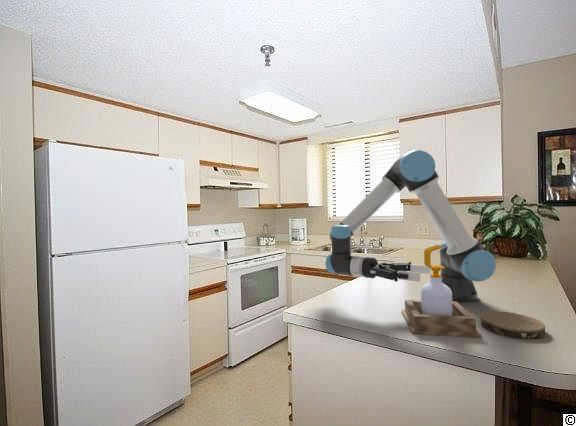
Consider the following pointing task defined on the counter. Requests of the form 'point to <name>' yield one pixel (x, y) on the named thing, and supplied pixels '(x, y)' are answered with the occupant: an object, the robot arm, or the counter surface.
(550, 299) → the counter surface
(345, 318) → the counter surface
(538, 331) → the wood slice
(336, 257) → the robot arm
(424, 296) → the soap bottle
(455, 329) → the walnut caddy
